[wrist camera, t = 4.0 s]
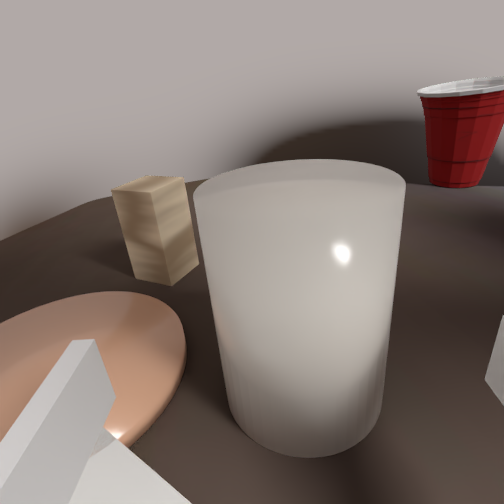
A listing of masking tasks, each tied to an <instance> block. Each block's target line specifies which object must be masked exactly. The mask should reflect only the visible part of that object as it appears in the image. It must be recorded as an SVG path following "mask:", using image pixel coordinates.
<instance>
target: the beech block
mask: <svg viewBox="0 0 504 504" xmlns="http://www.w3.org/2000/svg"><path fill="white" fill-rule="evenodd" d="M111 192H112V196H113V199H114V203H115V207H116V210H117V214H118V217H119V221H120V225H121V228H122V232H123V235H124V239H125V243H126V246H127V250H128V254H129V257H130V261H131V264H132V268H133V272H134V275H135V278H136V279H140V280H145V281H149V282H154V283H158V284H163V285H167V286H173V285H174V284H175V283H176V282H178V281H179V280H180V279H181V278H183V277H184V276H185V275H186V274H187V273H189V272H190V271H191V270H192V269H193V268H195V267H196V266H197V265H198V264H199V261H198V255H197V249H196V244H195V238H194V233H193V227H192V221H191V216H190V210H189V204H188V199H187V193H186V188H185V182H184V178H183V177H163V176H144V177H141V178H139V179H136V180H134V181H131V182H129V183H126V184H124V185H121V186H119V187H116V188H114V189H111Z"/></svg>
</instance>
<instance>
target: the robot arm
mask: <svg viewBox="0 0 504 504" xmlns="http://www.w3.org/2000/svg"><path fill="white" fill-rule="evenodd" d="M485 381H486V382H487V384H488V385H489V386H490V388H491V389H492V391H493V392H494V393H495V395H496V396H497V397H498V399H499V400H500V401H501V403H502V404H503V406H504V315H503V316H502V320H501V323H500V327H499V330H498V334H497V337H496V341H495V344H494V348H493V351H492V355H491V358H490V362H489V365H488V369H487V372H486V376H485ZM115 399H116V395H115V393H114V390H113V387H112V385H111V382H110V379H109V377H108V374H107V371H106V369H105V366H104V363H103V360H102V358H101V355H100V352H99V350H98V347H97V344H96V342H95V339H84V340H72V341H71V343H70V344H69V346H68V347H67V348H66V350H65V351H64V353H63V354H62V356H61V357H60V358H59V360H58V361H57V363H56V364H55V365H54V367H53V368H52V370H51V371H50V373H49V374H48V375H47V377H46V378H45V380H44V381H43V383H42V384H41V385H40V387H39V388H38V390H37V391H36V392H35V394H34V395H33V397H32V398H31V400H30V401H29V402H28V404H27V405H26V407H25V408H24V410H23V411H22V412H21V414H20V415H19V417H18V418H17V419H16V421H15V422H14V424H13V425H12V427H11V428H10V429H9V431H8V432H7V434H6V435H5V437H4V438H3V439H2V441H1V442H0V504H69V502H70V500H71V498H72V495H73V493H74V491H75V489H76V486H77V484H78V482H79V480H80V477H81V475H82V473H83V471H84V468H85V466H86V464H87V462H88V459H89V457H90V455H91V453H92V450H93V448H94V446H95V444H96V441H97V439H98V437H99V435H100V432H101V430H102V428H103V426H104V423H105V421H106V419H107V417H108V414H109V412H110V410H111V408H112V405H113V403H114V401H115Z"/></svg>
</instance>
